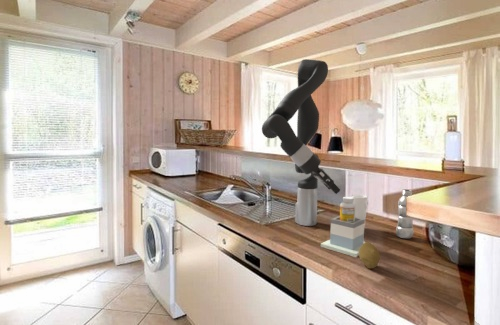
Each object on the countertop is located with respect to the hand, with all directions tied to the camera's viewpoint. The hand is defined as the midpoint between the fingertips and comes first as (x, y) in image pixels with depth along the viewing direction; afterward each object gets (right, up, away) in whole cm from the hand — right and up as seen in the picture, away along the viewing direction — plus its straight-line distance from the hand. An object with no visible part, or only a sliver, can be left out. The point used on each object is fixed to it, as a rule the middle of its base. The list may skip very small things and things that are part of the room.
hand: (334, 189), depth 114 cm
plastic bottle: (+32, -21, +13) cm, 41 cm away
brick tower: (+5, -22, +2) cm, 23 cm away
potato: (+7, -24, -15) cm, 29 cm away
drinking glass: (+17, -20, +25) cm, 36 cm away
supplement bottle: (+5, -13, +1) cm, 14 cm away
